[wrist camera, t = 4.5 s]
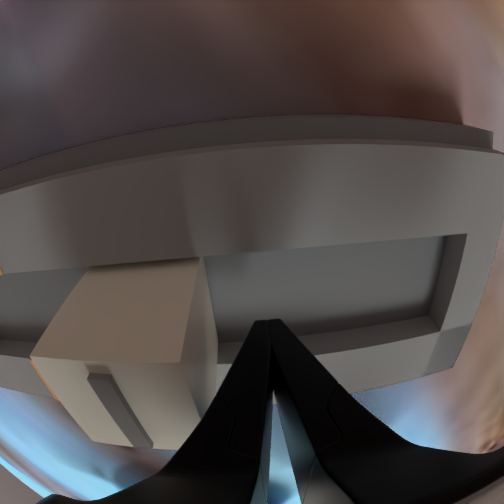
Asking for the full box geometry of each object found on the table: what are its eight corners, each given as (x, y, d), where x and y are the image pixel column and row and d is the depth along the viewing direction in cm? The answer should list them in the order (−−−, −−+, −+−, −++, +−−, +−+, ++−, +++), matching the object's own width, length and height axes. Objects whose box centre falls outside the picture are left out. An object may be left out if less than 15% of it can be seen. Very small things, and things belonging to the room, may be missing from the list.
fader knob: (218, 339, 12) (213, 455, 7) (125, 342, 12) (91, 446, 7) (202, 249, 10) (178, 370, 6) (95, 259, 10) (25, 361, 6)
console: (425, 338, 16) (449, 377, 13) (21, 360, 16) (1, 394, 13) (464, 124, 10) (515, 138, 7) (-51, 191, 10) (-90, 214, 7)
